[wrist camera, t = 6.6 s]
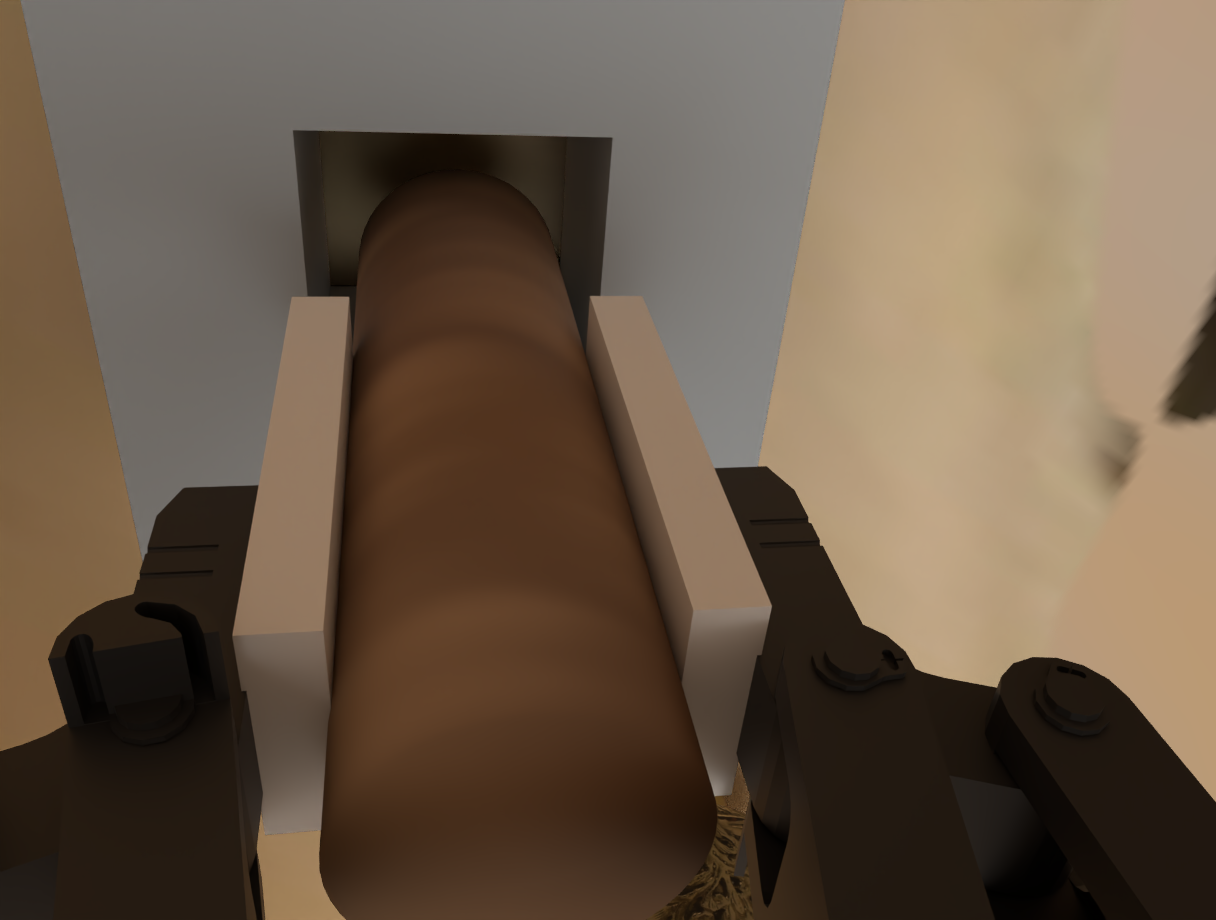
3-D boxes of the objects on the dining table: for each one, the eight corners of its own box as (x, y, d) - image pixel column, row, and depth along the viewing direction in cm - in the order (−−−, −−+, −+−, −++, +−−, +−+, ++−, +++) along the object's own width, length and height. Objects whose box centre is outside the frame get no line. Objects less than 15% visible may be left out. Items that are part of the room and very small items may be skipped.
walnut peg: (364, 350, 20) (333, 982, 10) (353, 167, 18) (302, 730, 8) (549, 348, 20) (692, 942, 10) (559, 171, 18) (743, 698, 9)
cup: (520, 854, 36) (548, 1106, 29) (609, 703, 32) (663, 952, 26) (714, 878, 38) (779, 1115, 32) (815, 742, 35) (911, 976, 29)
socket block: (184, 425, 25) (144, 566, 21) (79, -179, 18) (-12, -145, 14) (690, 413, 27) (743, 539, 23) (766, -131, 20) (861, -91, 16)
